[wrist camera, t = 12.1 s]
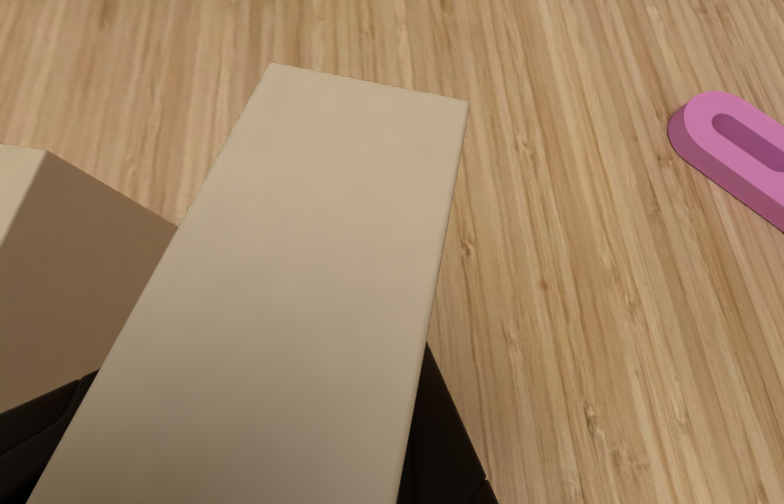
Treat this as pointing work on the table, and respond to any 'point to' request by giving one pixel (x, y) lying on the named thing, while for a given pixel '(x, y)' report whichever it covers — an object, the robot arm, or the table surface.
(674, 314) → the table surface
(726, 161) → the bracket
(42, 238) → the tan rectangular block
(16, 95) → the table surface
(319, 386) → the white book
